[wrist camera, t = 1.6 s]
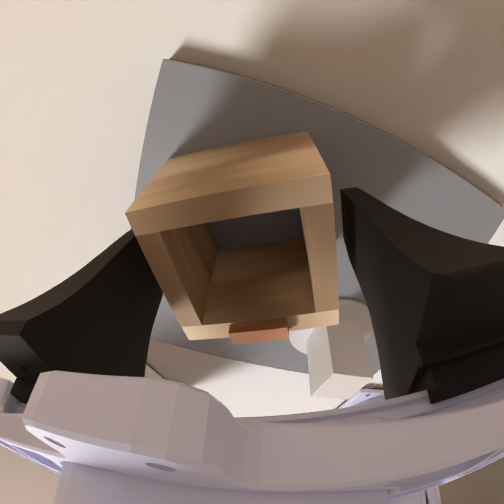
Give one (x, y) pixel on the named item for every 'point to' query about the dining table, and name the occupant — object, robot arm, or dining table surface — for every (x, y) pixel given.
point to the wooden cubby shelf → (246, 258)
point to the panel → (289, 221)
